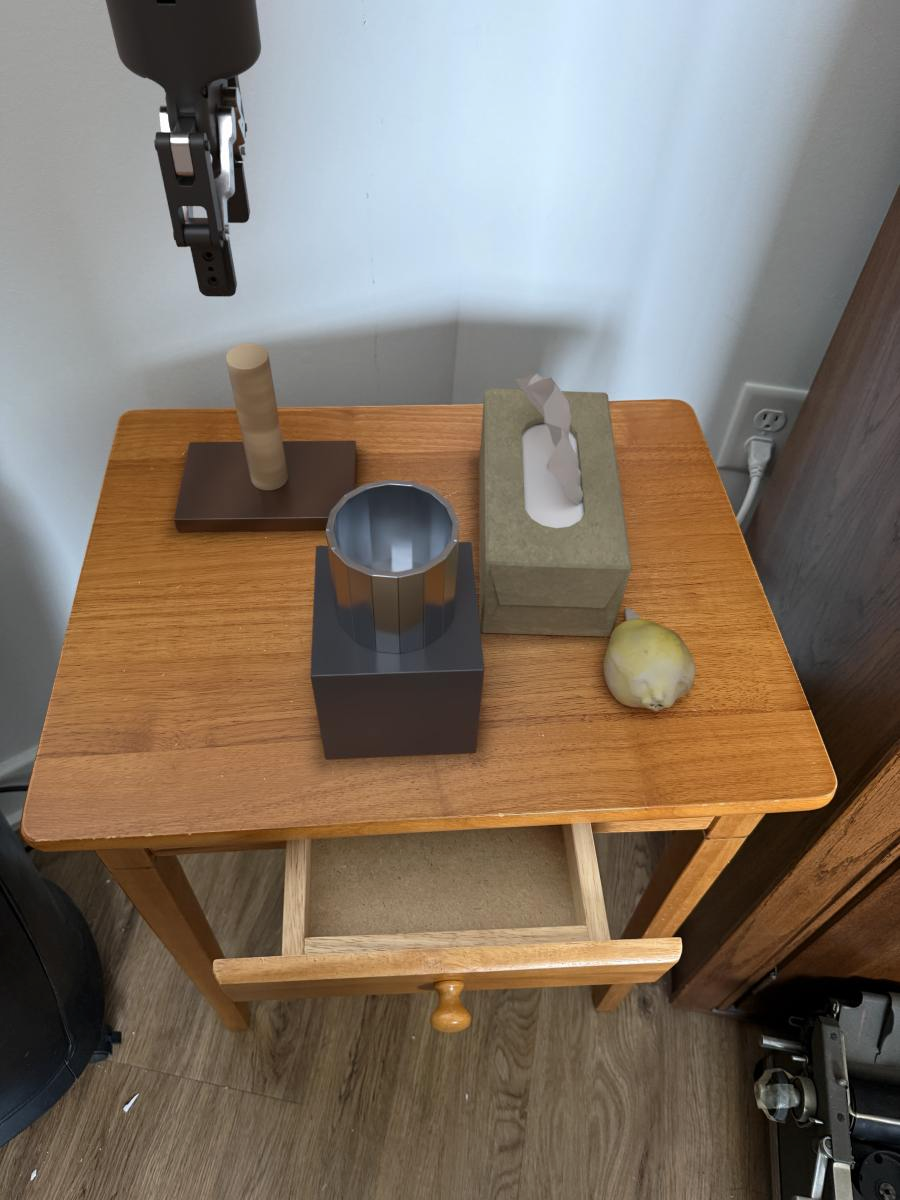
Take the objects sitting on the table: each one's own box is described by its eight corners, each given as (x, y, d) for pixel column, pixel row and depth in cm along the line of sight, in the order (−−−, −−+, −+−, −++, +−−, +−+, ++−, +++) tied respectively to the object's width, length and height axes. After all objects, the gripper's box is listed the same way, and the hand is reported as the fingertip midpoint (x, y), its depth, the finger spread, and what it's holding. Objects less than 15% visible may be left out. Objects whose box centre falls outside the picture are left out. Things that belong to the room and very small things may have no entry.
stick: (243, 482, 72) (217, 360, 63) (265, 460, 74) (242, 337, 64) (274, 495, 71) (252, 373, 62) (295, 472, 73) (276, 350, 64)
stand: (324, 759, 59) (310, 676, 51) (328, 636, 65) (315, 545, 57) (476, 753, 59) (484, 670, 51) (465, 632, 65) (471, 541, 57)
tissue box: (479, 459, 77) (490, 297, 64) (592, 463, 77) (625, 302, 64) (479, 637, 65) (493, 481, 53) (612, 641, 65) (658, 487, 53)
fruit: (663, 614, 67) (714, 718, 60) (587, 640, 67) (628, 745, 60) (654, 561, 63) (707, 665, 56) (572, 589, 63) (614, 695, 56)
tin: (313, 623, 53) (301, 545, 48) (374, 544, 57) (370, 463, 52) (419, 671, 51) (419, 596, 46) (475, 586, 55) (481, 507, 50)
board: (177, 532, 71) (173, 519, 69) (192, 454, 76) (189, 441, 75) (354, 530, 71) (353, 517, 70) (356, 453, 77) (355, 440, 76)
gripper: (123, -90, 49) (183, 198, 61) (65, 7, 40) (149, 320, 53) (262, -87, 49) (293, 199, 62) (235, 10, 40) (277, 321, 53)
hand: (227, 255), depth 57 cm, fingers open, 8 cm apart
